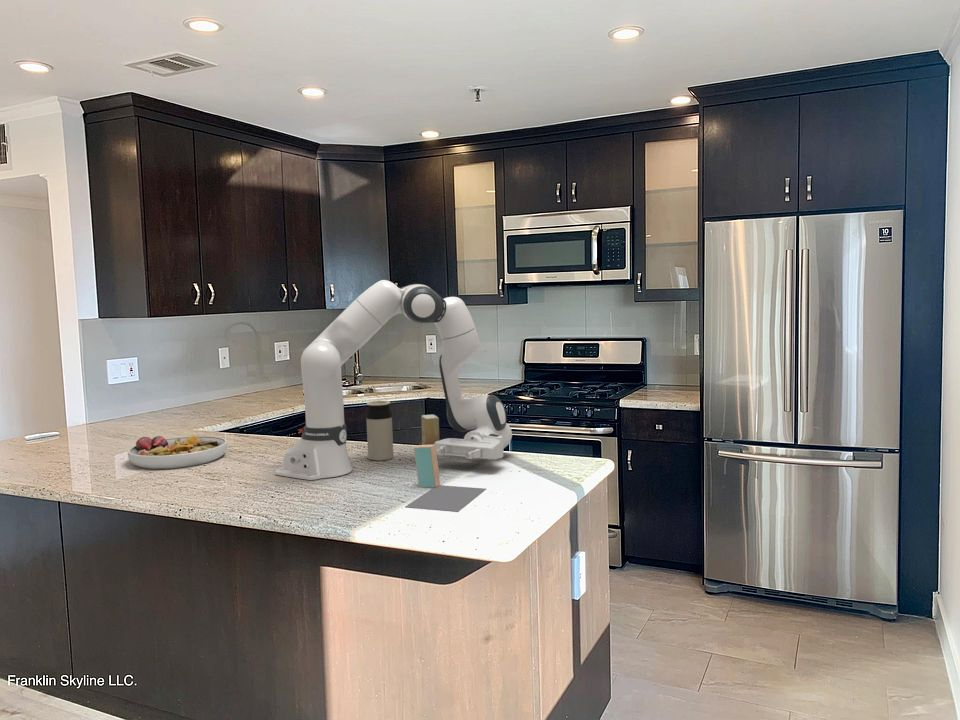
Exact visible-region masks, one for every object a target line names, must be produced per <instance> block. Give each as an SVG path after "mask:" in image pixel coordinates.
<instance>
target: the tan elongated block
mask: <svg viewBox="0 0 960 720" xmlns="http://www.w3.org/2000/svg"><path fill="white" fill-rule="evenodd" d="M413 451H414V459H415V460H414V461H415V466H416V475H417V484H418V487H419V488H431V489H432V488H434V487H437V486H439V485H441V479H440V472H439V471H440V470H439V463H438V455H437V454H436V446H435V444H433V445H422V444H418V445H416V446H414V447H413Z"/></svg>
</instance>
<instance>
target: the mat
mask: <svg viewBox="0 0 960 720" xmlns="http://www.w3.org/2000/svg"><path fill="white" fill-rule="evenodd" d="M485 491H487V488H483V487H482V488H481V487H469V486H457V485H455V486H454V485H441V484H440V485H439V486H437V487H432V488H431V489H429V490H428V491H427V492H424V493H423V494H421V495H420V496H419V497H417V498H416V499H415V500H412V501H411V502H410V503H408V504H407V505H405V506H404V508H406V509H417V510H418V509H419V510H430V511H440V512H441V511H442V512H454V513H459V512H460V511H462V509H464V508H465V507H466V506H468V504H470V503H471V502H472V501H474V500H475V499H476V498H478V497H479V496H480V495H481V494H483V493H484V492H485Z"/></svg>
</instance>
